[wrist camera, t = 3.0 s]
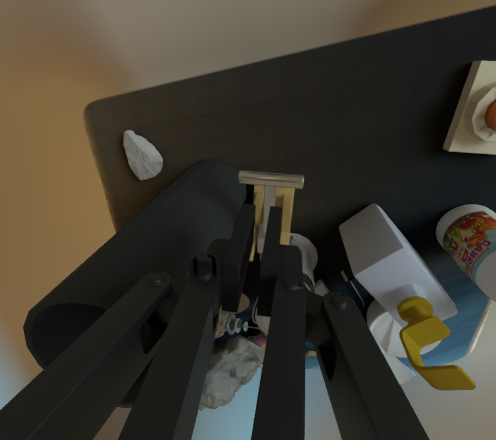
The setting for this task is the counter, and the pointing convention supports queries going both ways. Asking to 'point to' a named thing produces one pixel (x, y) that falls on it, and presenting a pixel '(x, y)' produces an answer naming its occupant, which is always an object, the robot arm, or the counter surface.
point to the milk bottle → (471, 243)
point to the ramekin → (388, 331)
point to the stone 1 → (142, 156)
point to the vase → (139, 258)
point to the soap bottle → (403, 290)
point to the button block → (474, 112)
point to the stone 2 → (230, 370)
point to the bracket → (282, 200)
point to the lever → (269, 191)
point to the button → (491, 115)
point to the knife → (351, 285)
